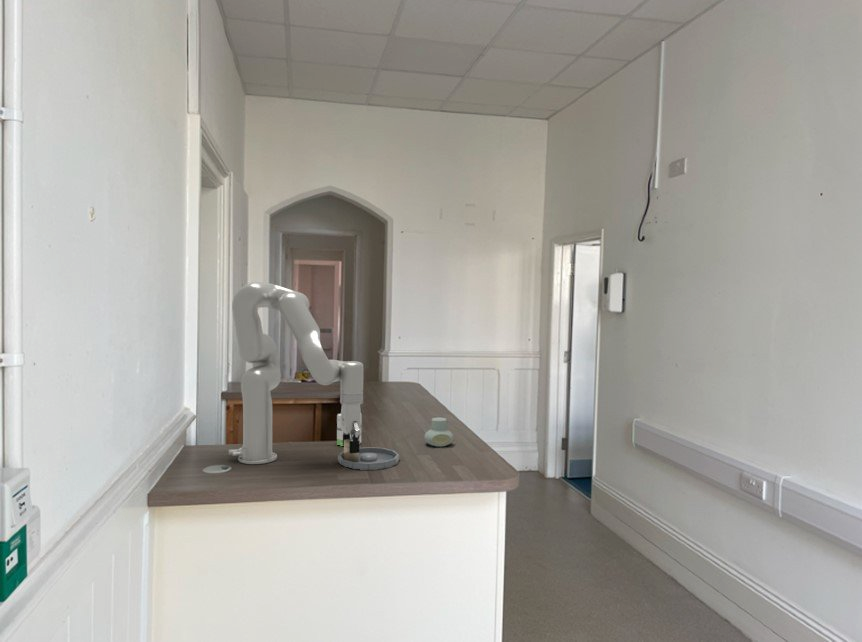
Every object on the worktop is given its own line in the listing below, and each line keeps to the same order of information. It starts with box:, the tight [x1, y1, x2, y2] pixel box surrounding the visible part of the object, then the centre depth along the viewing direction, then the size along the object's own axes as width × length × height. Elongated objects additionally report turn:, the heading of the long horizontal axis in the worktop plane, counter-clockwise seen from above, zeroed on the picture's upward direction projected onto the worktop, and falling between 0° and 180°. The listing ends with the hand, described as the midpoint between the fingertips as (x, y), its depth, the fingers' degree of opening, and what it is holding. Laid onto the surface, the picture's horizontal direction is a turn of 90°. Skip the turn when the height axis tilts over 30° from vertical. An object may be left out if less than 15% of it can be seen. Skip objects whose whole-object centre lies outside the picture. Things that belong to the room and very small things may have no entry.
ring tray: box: [337, 446, 400, 471], centre depth 198 cm, size 20×20×2 cm
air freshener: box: [423, 416, 454, 448], centre depth 221 cm, size 11×8×10 cm
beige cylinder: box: [343, 439, 359, 462], centre depth 196 cm, size 5×5×7 cm
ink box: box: [336, 413, 363, 447], centre depth 220 cm, size 9×5×12 cm, turn 143°
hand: (350, 449), depth 196 cm, fingers open, 9 cm apart
